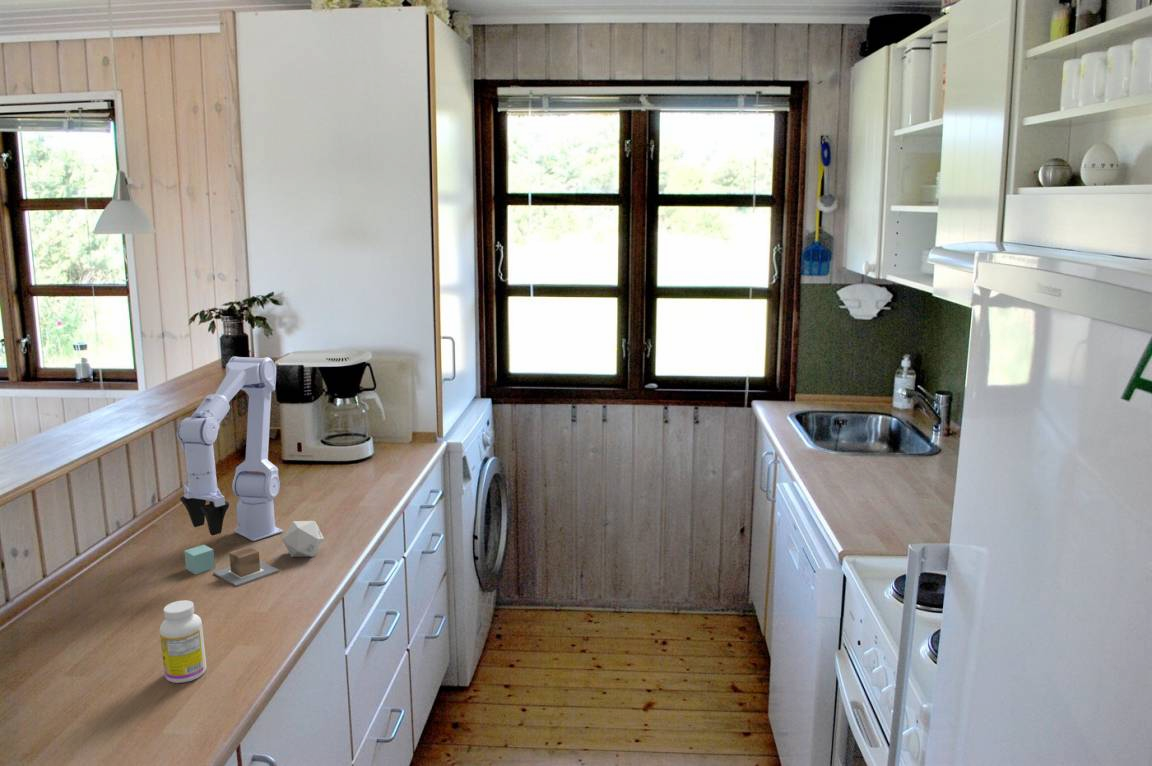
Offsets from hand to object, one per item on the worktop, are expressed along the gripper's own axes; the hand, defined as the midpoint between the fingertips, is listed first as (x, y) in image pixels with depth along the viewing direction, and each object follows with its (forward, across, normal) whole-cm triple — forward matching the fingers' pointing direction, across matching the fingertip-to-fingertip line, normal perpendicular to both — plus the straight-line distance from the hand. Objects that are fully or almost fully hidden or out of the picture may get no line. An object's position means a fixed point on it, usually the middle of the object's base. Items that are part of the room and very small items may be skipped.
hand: (207, 529), depth 189 cm
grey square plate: (+9, +8, +4) cm, 13 cm away
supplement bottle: (+10, +38, -24) cm, 46 cm away
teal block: (+10, -2, -1) cm, 10 cm away
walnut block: (+9, +8, +4) cm, 13 cm away
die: (+10, +9, +18) cm, 22 cm away
